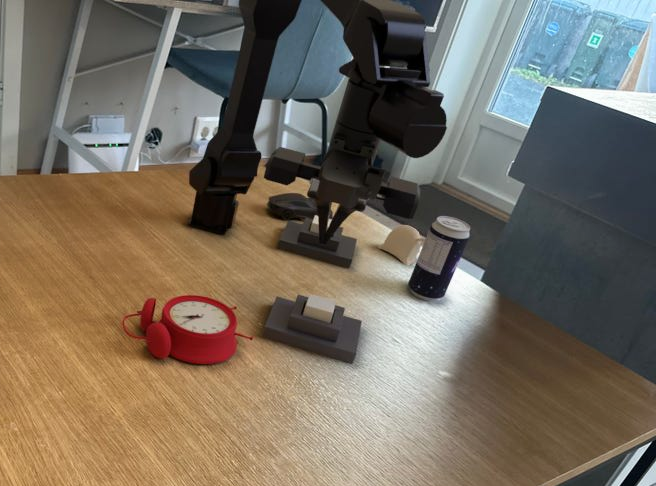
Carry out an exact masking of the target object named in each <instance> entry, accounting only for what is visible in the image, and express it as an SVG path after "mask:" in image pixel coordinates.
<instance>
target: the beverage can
mask: <svg viewBox="0 0 656 486" xmlns="http://www.w3.org/2000/svg"><path fill="white" fill-rule="evenodd" d="M470 230H471V226H470V225H469V224H468V223H467V222H465V221H463V220H462V219H459V218H456V217H452V216H447V215H440V216H437V218H436V220H435V221H434V222H432V224H430V227H429V229H428V232H427V235H426V237H425V238H426V239H425V242H424V244H422V247H421V249H420V250H421V251H419V255H418V257H417V259H416V261H415V262H416V263H415V265H414V268H413V270H412V272H411V274H410V277H409V280H408V283H407V286H408V288H409V289H410V292H411V294H413V296H415V297H417V298H418V299H421V300H424V301H427V302H428V301H430V302H433V301H437V300H438V299H442V298H444V297H445V295H446V293H447V290H448V287H449V286H450V284H451V282H452V280H453V276H454V275H455V272H456V270H457V268H458V265H459V263H460V261H461V259H462V256H463V254H464V251H465V249H466V247H467V244H468V242H469V240H470V237H471V235H470Z"/></svg>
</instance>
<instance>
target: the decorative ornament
mask: <svg viewBox="0 0 656 486" xmlns="http://www.w3.org/2000/svg"><path fill="white" fill-rule="evenodd" d="M425 239H426V237H422V236H421V235H420V232H419V231H418V230H417V229H416V228H414V227H413V226H411V225H407V224H400V225H398V226H396V227H395V228H393V229H392V230H391V231H390V232H389V233H388V235H387V236H386V238H385V239H384V242H383V243H382V244H380V245H378V246H377V249H380V250H383V251H385V252H387V253H389V254H391V255H393V256H395V257H396V258H397V259H399V260H400V261H401V262H402V263H403V265H405V266H410V265H411V264H414V263H415V262H417V256H418V254H420V250H421V248H422V247H421V246H423V244H424V242H425Z"/></svg>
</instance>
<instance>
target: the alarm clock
mask: <svg viewBox="0 0 656 486" xmlns="http://www.w3.org/2000/svg"><path fill="white" fill-rule="evenodd" d="M156 302H157V298H156V297H149V298H147V299H146V300H145V302H144V303H143V306H142V309H141V310H136V313H132V314H127V315H125V316H124V317H123V319H122V323H121V324H122V329H123V331H124V333H126V334H127V335H128V336H129V337H131V338H133V339H137V340H145V342H146V345H147V348H148V351H149V352H150V353H151V355H153V357H156V358H158V359H165V358H167V357H169V356H171V357H173V358H175V359H177V360H180V361H183V362H186V363H191V364H198V365H212V364H213V365H214V364H218V363H222V362H225V361H227V360H229V359H230V358H231V357H232V356H234V354H235V353H236V351H237V347H238V342H239V341H238V339H237V337H239V338H240V337H241V338H245V339H248V340H249V341H253V340H254V337H253V336H248V335H244V334H241V333H238V332H236V330H237V326H238V321H237V320H238V319H237V315H236V313H235V312H234V311H233V310H237V309H238V307H237V306H236V305H234V306H232V307H229V306H228V305H226V304H225V303H223V302H221V301H219V300H218V299H215V298H211V297H209V296H204V295H197V294H185V295H178V296H175V297H172V298H170V299H169V300H167V301H166V302H165V304H164V306H163V307H162V309H161V310H162V311H161V318H160V320H159V321H154V315H155V309H156ZM137 316H138V317H139V316H140V322H139V323H140V328H141V329H142V331H144V332H145V337H144V336H137V335H134V334H132V333H130V332H129V331H128V330H127V328H126V324H125V321H126V320H127V319H128V318H131V317H137Z"/></svg>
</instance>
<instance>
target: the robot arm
mask: <svg viewBox="0 0 656 486" xmlns="http://www.w3.org/2000/svg"><path fill="white" fill-rule="evenodd" d="M319 1H320V2H321V4H323V5H324V6H325V8H326V9H328V10H329V11H330V13H331V14H332V15H333V16H334V17H335V18H336V20H338V22H339V23H340V24H341V26H342V27H343V28H342V29H343V31H342V40H343V43H344V45H345V46H346V48H347V50H348V52H349V53H350V55H351V57H352V59H351V60H349V61H347V62H346V63H344V64H342V65H341V66H340V67H339V68H338V73H339V74H341V75H343V76H345V77H346V78H348V79H347V83H346V86H345V90H344V92H343V97H342V100H341V103H340V107H339V110H338V113H337V117H336V119H335V124H334V127H333V130H332V133H331V137H330V139H329V143H328V146H327V149H326V153H325V154H324V155H323V158H322V162H321V165H320V166H319V165H316V164H312V163H309V162H305V160H306V159H305V158H306V153H305V152H301V151H298V150H293V149H291V148H286V147H282V146H279V147H277V148H275V149H274V150H273V152H272V154H271V155H270V156H269V158H268V160H267V163H266V166H265V170H264V174H263V178H264V179H265V180H266V181H269V182H272V183H276V184H279V185H282V186H283V185H284V186H289V185H291V184H293V183H295V181H296V179H297V178H299V179H302V180H306V181H309V188H308V190H307V193H306V196H307V198H312V199H314V201H315V203H316V206H317V212H318V222H319V244H321V245H326V244H327V242H328V241H329V240H330V238H331V237H332V236H333V234H334V233H335V232H336V230H337V229H338V228H339V227H341V225H342V224H343V223H344V222H345V221H346V220H347V218H349V217H350V216H351V215H352V214H353V213H355V212H359V213H363V212H365V210H366V207H367V203H368V201H369V200H372V201H376V200H380V201H383V203H382V206H383V208H384V210H385V213H386V214H389V215H392V216H395V217H400V218H404V219H407V220H411V219H412V220H413V219H414V218H415V214H416V213H417V209H418V207H419V204H420V200H421V188H420V186H419V183H418V182H414V181H410V180H406V179H402V178H399V177H395V176H392V175H391V176H390V177H389V179H388V181H387V184H386V183H383V180H384V177H385V174H386V169H383V168H380V167H376V166H374V162H375V159H376V156H377V153H378V150H379V148H380V144H381V142H382V141H383V142H384V143H385V144H388V145H389V146H391V147H393V148H394V149H396V150H397V151H399V152H401V153H403V154H404V155H406V156H408V157H409V158H413V159H421V158H423V157H425V156H427V155H429V154H430V153H432V152H433V151H434V150H435V149H436V148H437V147H438V146H439V145H440V144H441V142H442V140H443V138H444V136H445V134H446V132H447V129H448V127H447V121H448V119H447V113H446V111H445V109H444V108H443V107H442V106H441V105H442V103H443V100H444V98H445V94H444V93H443V92H442V91H438V90H436V89H430V88H428V87H430V85H431V78H430V72H431V69H430V65H429V59H428V58H429V57H428V47H427V46H428V45H427V37H426V29H427V24H426V20H425V19H424V17H423V15H421V13H420V12H417V11H415V10H414V9H412V8H410V7H408V6H406V5H404V4H402V3H400V2H396V1H394V0H319ZM302 2H303V0H238V9H239V12H240V16H241V19H242V22H243V25H244V28H243V34H242V38H241V43H240V48H239V52H238V57H237V61H236V65H235V68H234V69H235V70H234V74H233V77H232V82H231V87H230V90H229V95H228V100H227V104H226V108H225V113H224V117H223V122H222V125H221V127H220V129H218V131H217V132H216V133H215V134H214V135H213V137H211V139H210V140H209V141H208V142H207V144H206V147H205V151H204V154H203V157H202V158H201V160H199V161H198V162H197V163H196V164H195V165H194V166H193V167H192V168H191V169H190V170H189V172H188V173H189V174H188V184H189V186H190V187H192V189H193V190H194V191H195V196H194V202H193V203H194V204H193V207H192V212H191V217H190V219H189V220H188V222H187V226H188V227H192V228H196V229H199V230H203V231H207V232H209V233H213V234H218V235H221V236H226V234H227V232H228V231H229V230H231V229H232V228H233V226H234V224H235V221H236V217H237V214H238V213H237V212H238V207H239V204H240V202H239V200H237V197H238V195H247V194H248V191H249V189H250V187H251V185H252V183H253V182H254V180H255V178H256V177H258V170H259V165H260V162H261V160H262V152H261V151H260V150H258V147H257V145H256V141H255V138H254V135H255V130H256V127H257V124H258V119H259V115H260V111H261V107H262V104H263V99H264V95H265V93H266V88H267V84H268V80H269V76H270V72H271V70H272V65H273V61H274V57H275V53H276V50H277V46H278V42H279V40H280V39H279V38H280V37H281V35H282V34H283V33H284V32H285V31H286V30H287V29H288V27H289V26H290V25H291V24H292V23H293V22H294V21H295V19H296V18H297V15H298V13H299V9H300V7H301V4H302ZM405 67H406V68H405ZM333 203H334V204H338V205H337V208H336V209H335V212H334V213H333V218H332V220H331V223H330V225H329V227H328V221H329V216H330V210H332V204H333ZM327 227H328V229H327ZM326 231H327V232H326Z"/></svg>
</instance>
